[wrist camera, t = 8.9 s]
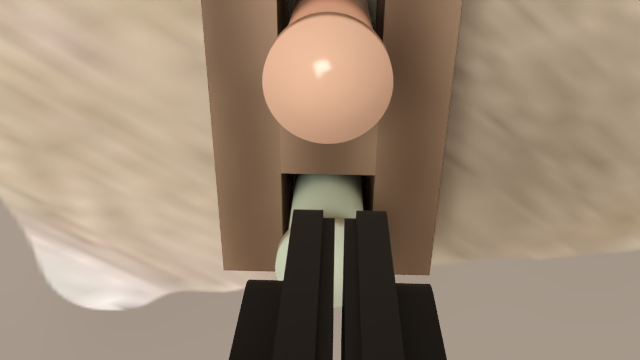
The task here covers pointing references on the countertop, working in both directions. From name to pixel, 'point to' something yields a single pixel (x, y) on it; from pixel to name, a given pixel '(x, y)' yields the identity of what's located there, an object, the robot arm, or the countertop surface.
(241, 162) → the socket block
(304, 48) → the peach peg
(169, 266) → the countertop surface
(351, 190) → the green plug
